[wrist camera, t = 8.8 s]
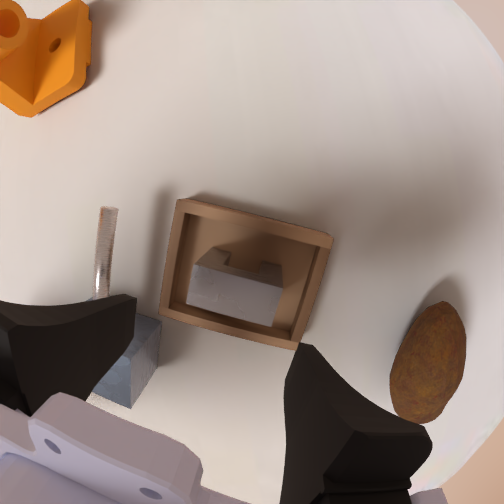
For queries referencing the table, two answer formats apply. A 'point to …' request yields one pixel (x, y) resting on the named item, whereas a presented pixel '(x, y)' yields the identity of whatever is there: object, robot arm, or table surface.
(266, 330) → the tray
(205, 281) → the block
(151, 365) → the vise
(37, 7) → the table surface
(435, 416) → the potato
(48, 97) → the bracket
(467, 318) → the table surface
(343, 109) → the table surface
